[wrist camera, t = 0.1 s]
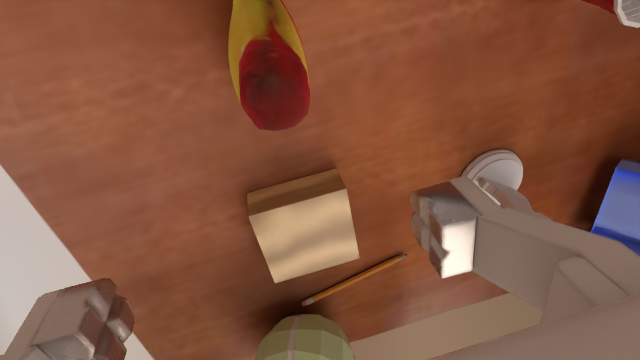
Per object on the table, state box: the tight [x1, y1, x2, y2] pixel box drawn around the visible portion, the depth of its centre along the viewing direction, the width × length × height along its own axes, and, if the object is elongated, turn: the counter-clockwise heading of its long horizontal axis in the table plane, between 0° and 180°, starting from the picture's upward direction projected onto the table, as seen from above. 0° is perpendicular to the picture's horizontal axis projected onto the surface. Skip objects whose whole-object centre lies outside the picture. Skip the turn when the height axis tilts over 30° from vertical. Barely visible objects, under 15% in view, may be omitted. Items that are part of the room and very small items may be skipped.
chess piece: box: [461, 149, 552, 221], centre depth 46 cm, size 10×10×15 cm
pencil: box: [302, 254, 407, 307], centre depth 57 cm, size 1×1×19 cm
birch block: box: [247, 168, 359, 283], centre depth 46 cm, size 12×12×5 cm
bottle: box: [228, 0, 310, 131], centre depth 27 cm, size 12×6×20 cm, turn 4°
